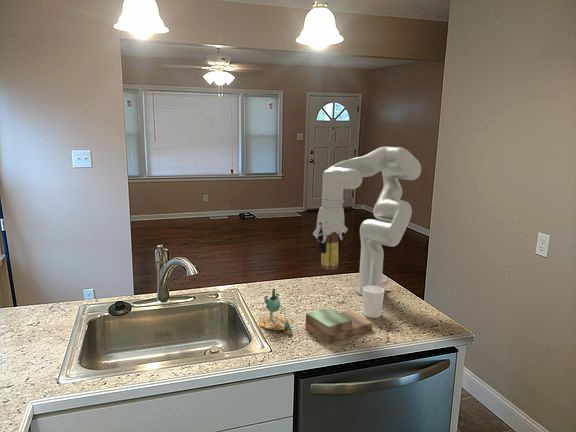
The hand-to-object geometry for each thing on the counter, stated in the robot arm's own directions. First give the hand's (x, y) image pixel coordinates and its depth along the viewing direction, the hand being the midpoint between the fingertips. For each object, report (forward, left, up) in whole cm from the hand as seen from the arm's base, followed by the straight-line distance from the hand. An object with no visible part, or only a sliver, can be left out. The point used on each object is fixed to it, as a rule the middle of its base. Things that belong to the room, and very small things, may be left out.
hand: (329, 250), depth 159 cm
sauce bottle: (0, 0, -7) cm, 7 cm away
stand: (+7, +15, -24) cm, 29 cm away
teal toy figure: (+25, +1, -24) cm, 34 cm away
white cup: (-12, +12, -24) cm, 29 cm away
